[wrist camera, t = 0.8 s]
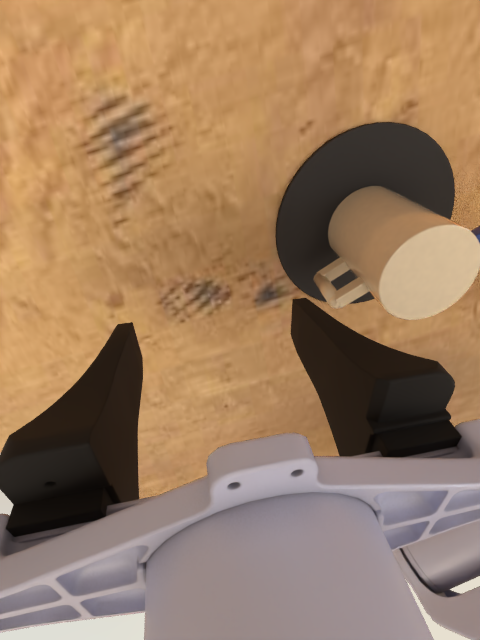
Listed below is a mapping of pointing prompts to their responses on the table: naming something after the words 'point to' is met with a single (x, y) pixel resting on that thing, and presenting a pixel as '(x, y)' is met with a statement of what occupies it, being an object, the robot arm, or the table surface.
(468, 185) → the table surface
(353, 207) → the tan cylindrical vessel
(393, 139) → the coaster
